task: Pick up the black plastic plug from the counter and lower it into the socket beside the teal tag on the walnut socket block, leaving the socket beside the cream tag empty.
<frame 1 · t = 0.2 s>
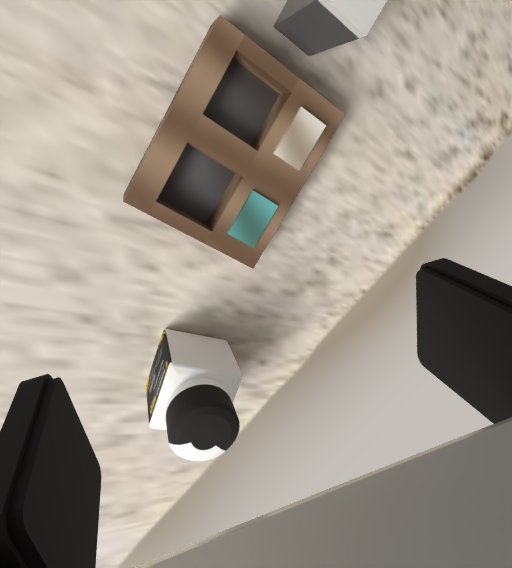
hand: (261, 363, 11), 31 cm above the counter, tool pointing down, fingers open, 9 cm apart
medicine bottle: (186, 361, 45), on the counter
plug: (303, 19, 36), on the counter
socket block: (229, 153, 39), on the counter
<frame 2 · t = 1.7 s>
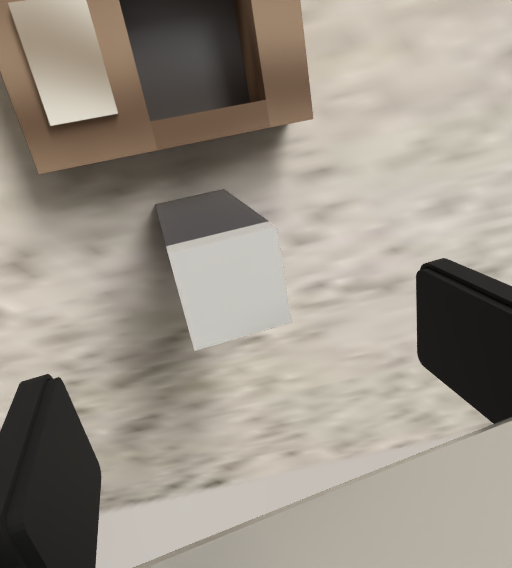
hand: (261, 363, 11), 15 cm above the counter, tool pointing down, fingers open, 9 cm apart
plug: (198, 230, 25), on the counter
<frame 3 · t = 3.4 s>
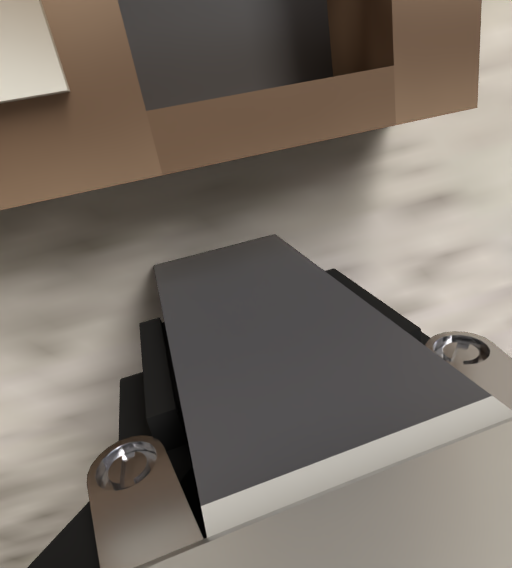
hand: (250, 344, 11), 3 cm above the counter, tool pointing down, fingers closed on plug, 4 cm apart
plug: (228, 304, 14), on the counter, touching gripper
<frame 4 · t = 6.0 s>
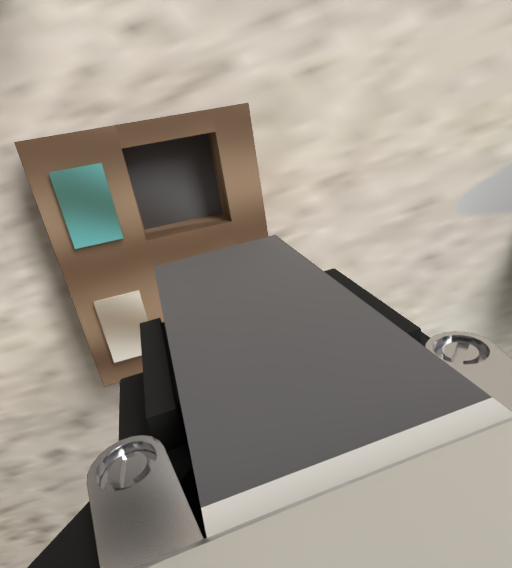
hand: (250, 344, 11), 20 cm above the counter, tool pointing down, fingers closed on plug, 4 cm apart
plug: (228, 305, 14), point 17 cm above the counter, touching gripper
socket block: (166, 241, 30), on the counter
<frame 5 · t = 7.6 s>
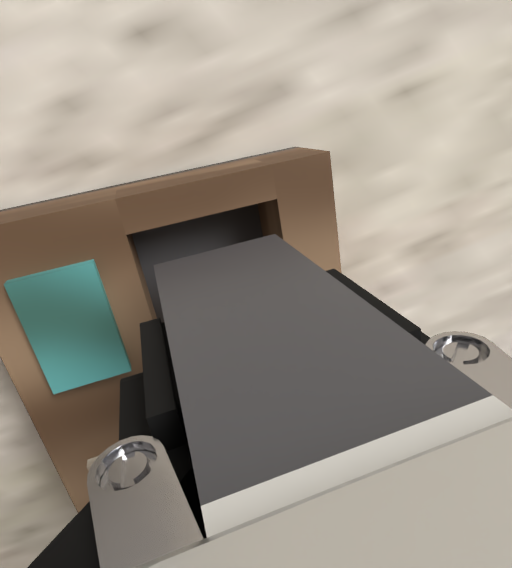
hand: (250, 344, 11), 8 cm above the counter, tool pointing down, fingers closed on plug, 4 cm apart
plug: (228, 304, 14), point 5 cm above the counter, touching gripper
socket block: (192, 343, 20), on the counter
when the fingers open (4 cm above the counter, at t = 8.7 s): plug stays where it is, resting on socket block.
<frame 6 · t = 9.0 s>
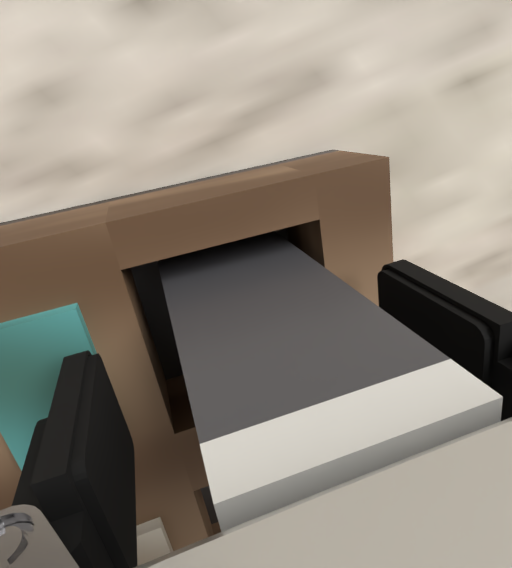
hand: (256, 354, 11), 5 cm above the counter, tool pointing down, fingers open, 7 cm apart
plug: (225, 294, 15), resting on socket block
socket block: (203, 388, 17), on the counter
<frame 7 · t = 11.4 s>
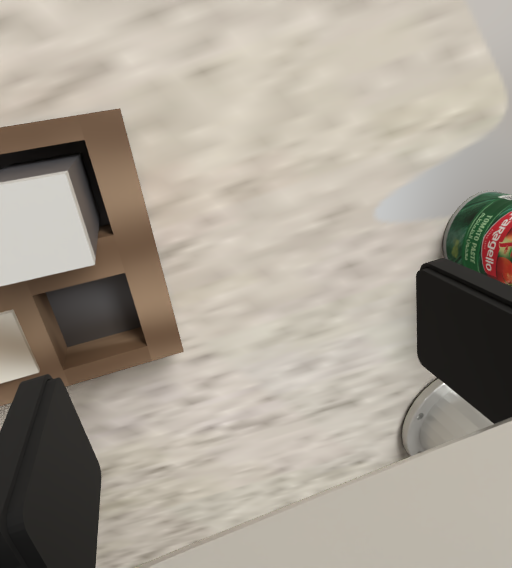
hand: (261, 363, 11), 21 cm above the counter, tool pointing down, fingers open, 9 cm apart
plug: (57, 190, 26), resting on socket block
canned tomato: (476, 232, 39), on the counter
socket block: (53, 253, 28), on the counter
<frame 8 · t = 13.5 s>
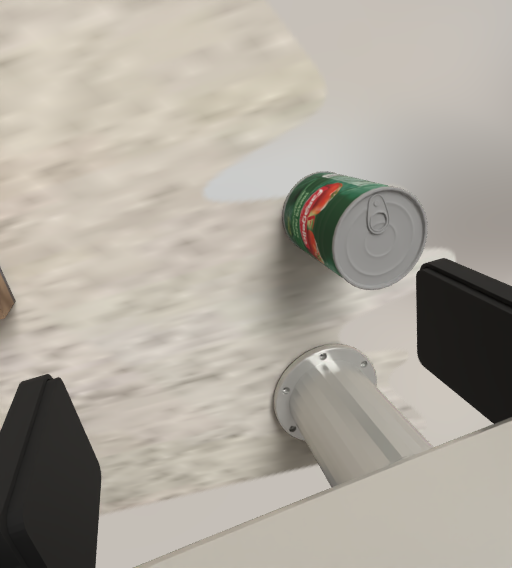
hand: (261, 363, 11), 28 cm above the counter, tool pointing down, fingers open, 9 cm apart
canned tomato: (319, 212, 41), on the counter
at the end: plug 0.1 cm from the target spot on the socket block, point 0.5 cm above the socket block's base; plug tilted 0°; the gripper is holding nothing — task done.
